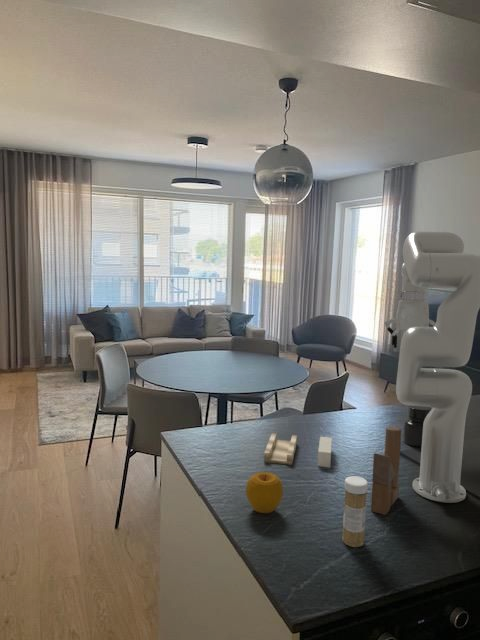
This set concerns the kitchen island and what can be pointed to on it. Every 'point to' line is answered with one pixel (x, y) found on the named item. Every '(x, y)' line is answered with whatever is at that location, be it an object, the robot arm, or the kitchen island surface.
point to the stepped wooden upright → (386, 473)
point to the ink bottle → (415, 425)
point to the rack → (280, 450)
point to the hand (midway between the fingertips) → (410, 348)
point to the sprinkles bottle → (354, 511)
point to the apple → (264, 492)
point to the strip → (324, 451)
